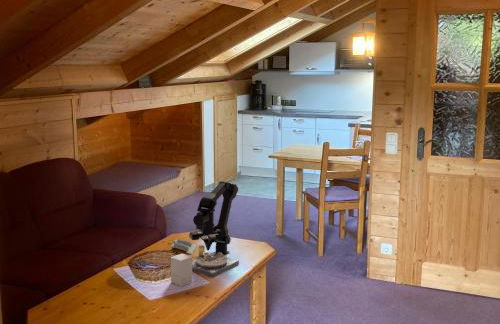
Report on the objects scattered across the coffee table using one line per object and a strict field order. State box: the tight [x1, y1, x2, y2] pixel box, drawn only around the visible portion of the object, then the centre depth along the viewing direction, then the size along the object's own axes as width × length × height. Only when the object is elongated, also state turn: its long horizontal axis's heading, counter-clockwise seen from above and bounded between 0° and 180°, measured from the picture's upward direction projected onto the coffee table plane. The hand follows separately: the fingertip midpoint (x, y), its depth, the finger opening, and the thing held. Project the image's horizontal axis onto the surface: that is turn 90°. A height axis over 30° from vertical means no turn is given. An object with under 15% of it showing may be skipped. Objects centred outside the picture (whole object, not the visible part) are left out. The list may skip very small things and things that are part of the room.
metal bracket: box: [170, 237, 198, 255], centre depth 297 cm, size 14×6×15 cm
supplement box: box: [170, 253, 193, 287], centre depth 251 cm, size 7×7×13 cm
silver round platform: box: [195, 244, 228, 268], centre depth 272 cm, size 16×16×7 cm
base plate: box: [192, 256, 240, 278], centre depth 273 cm, size 22×19×2 cm
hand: (207, 250), depth 277 cm, fingers closed
